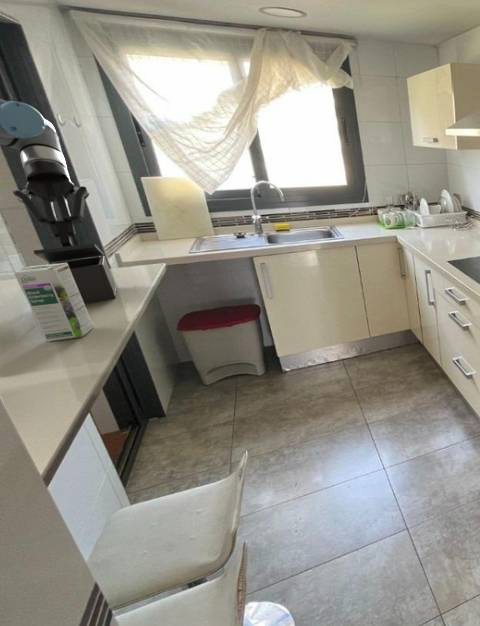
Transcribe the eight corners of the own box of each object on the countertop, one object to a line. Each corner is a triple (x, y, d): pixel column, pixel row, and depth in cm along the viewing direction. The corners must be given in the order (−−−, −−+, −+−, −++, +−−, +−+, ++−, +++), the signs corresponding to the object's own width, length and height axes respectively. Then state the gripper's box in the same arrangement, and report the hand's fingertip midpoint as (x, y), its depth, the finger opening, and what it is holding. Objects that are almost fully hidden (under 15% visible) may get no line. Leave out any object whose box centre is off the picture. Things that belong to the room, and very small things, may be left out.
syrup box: (45, 342, 90) (11, 272, 85) (60, 332, 95) (29, 264, 90) (82, 337, 92) (52, 268, 87) (95, 327, 97) (67, 261, 92)
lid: (95, 246, 110) (94, 243, 109) (34, 254, 103) (33, 250, 103) (104, 255, 119) (103, 252, 119) (49, 262, 113) (47, 259, 113)
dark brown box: (115, 298, 115) (102, 264, 111) (59, 308, 108) (43, 272, 105) (116, 287, 123) (104, 255, 120) (63, 296, 117) (49, 263, 113)
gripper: (86, 178, 122) (108, 250, 116) (14, 182, 114) (34, 259, 108) (77, 157, 116) (99, 232, 111) (0, 160, 108) (20, 241, 103)
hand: (67, 246), depth 109 cm, fingers closed
